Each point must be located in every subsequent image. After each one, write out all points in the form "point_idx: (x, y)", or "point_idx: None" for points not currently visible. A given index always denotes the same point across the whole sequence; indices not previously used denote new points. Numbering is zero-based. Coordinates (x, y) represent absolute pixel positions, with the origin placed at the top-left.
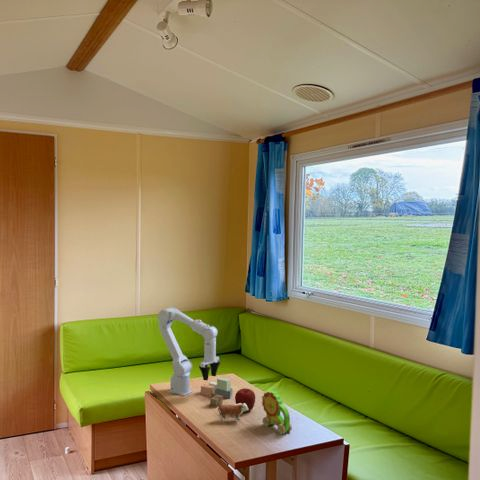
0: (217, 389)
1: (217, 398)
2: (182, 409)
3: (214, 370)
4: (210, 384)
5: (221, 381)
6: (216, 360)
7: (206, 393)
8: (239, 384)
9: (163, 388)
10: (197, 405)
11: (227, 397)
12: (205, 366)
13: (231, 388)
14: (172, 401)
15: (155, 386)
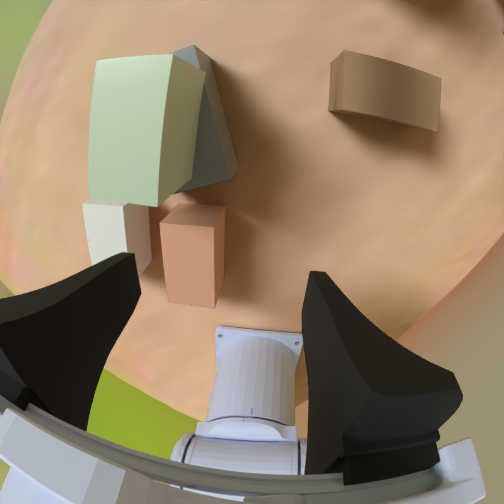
0: (207, 163)
1: (416, 76)
2: (472, 255)
3: (98, 304)
4: None
5: (169, 134)
6: (12, 465)
7: (222, 242)
8: (10, 162)
9: None
10: (418, 209)
11: (213, 74)
12: (414, 457)
13: None
14: None
15: None
